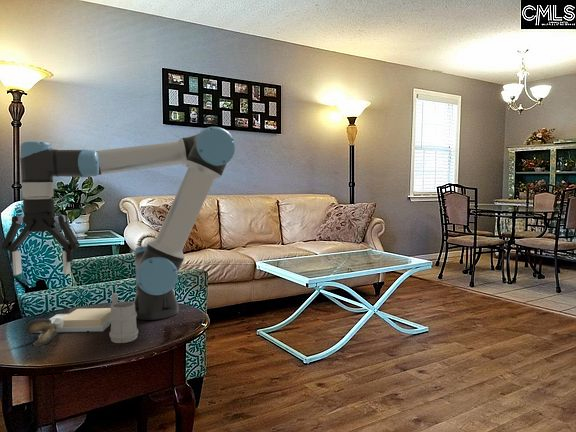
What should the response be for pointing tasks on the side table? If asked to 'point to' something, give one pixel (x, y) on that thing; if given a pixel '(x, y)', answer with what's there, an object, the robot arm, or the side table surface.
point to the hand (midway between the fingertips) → (42, 273)
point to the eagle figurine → (44, 329)
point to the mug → (122, 321)
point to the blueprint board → (84, 320)
